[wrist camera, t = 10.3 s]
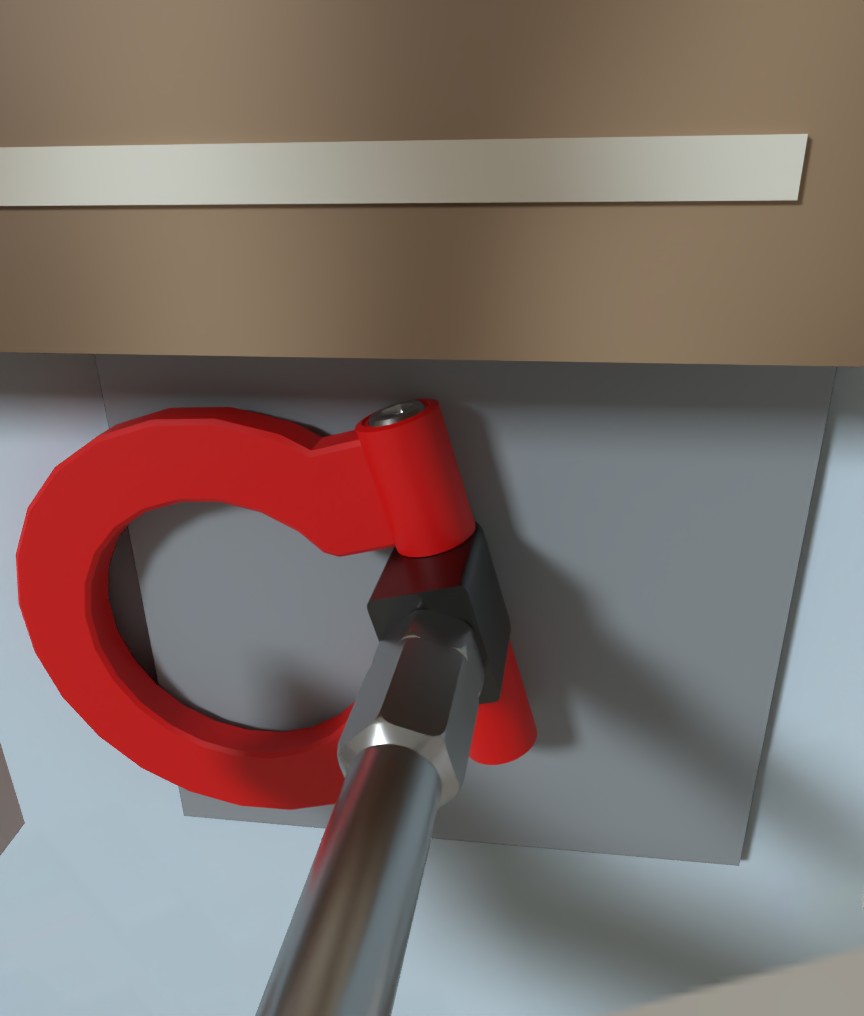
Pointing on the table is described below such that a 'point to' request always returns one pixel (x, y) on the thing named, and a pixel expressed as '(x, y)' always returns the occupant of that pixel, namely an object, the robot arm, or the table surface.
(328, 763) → the tow hook
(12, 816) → the robot arm
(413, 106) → the walnut board
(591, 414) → the mat
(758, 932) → the table surface
